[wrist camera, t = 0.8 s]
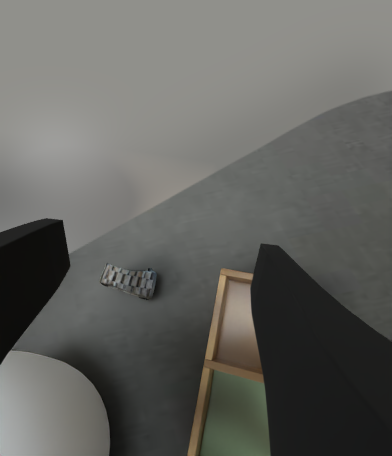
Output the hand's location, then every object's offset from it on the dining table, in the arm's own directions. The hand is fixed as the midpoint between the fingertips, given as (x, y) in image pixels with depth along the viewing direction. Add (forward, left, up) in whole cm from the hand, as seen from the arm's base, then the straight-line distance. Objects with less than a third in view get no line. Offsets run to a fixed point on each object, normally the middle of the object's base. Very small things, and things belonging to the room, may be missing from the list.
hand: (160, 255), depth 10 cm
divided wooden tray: (-5, -4, -18) cm, 19 cm away
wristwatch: (0, +9, -18) cm, 20 cm away
